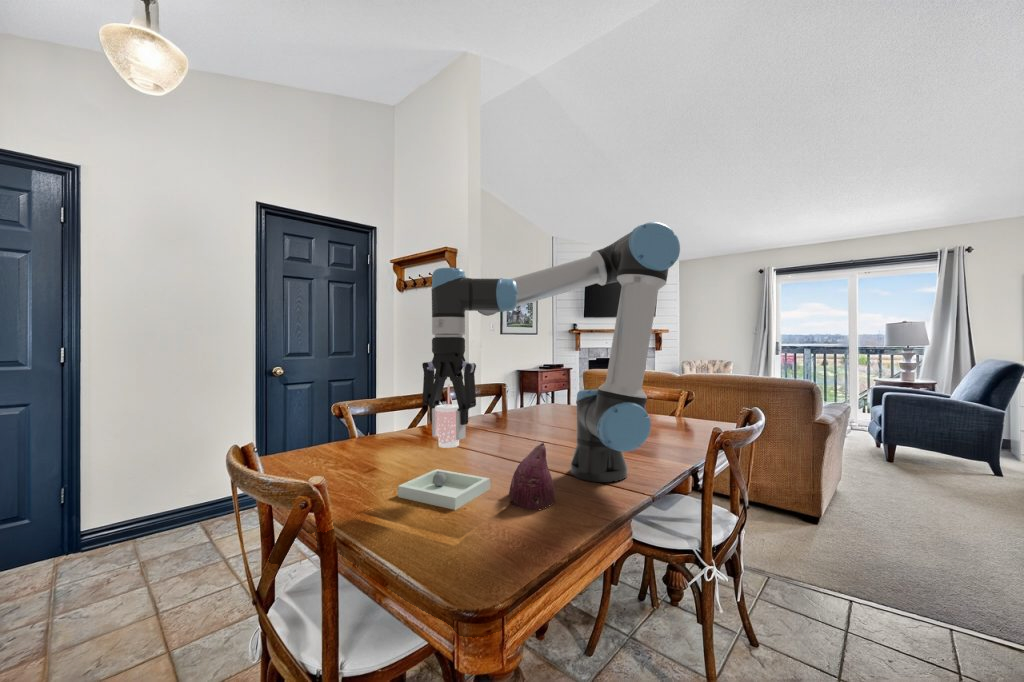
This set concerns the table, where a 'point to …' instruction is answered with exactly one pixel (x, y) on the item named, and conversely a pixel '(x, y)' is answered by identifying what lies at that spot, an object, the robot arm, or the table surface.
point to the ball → (439, 479)
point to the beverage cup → (447, 424)
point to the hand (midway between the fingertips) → (448, 437)
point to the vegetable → (532, 482)
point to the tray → (444, 489)
